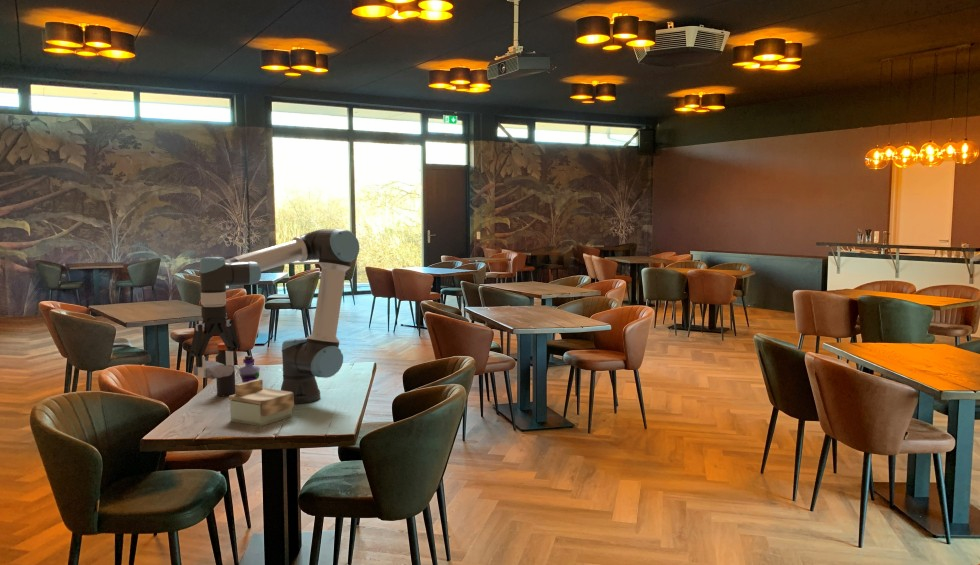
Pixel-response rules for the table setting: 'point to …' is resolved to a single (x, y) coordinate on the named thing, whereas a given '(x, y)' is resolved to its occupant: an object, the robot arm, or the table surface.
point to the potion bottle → (249, 370)
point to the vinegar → (228, 382)
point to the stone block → (215, 370)
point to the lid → (263, 397)
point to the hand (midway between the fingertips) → (216, 373)
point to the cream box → (254, 414)
